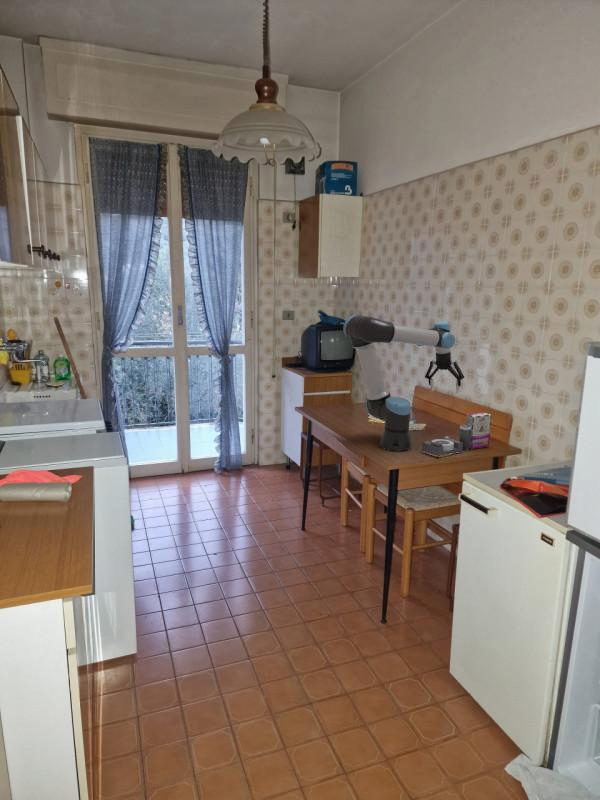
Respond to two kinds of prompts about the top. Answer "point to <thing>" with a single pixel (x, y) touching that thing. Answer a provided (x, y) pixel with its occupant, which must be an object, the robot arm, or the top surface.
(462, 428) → the lens
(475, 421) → the candy bar box
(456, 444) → the camera body
